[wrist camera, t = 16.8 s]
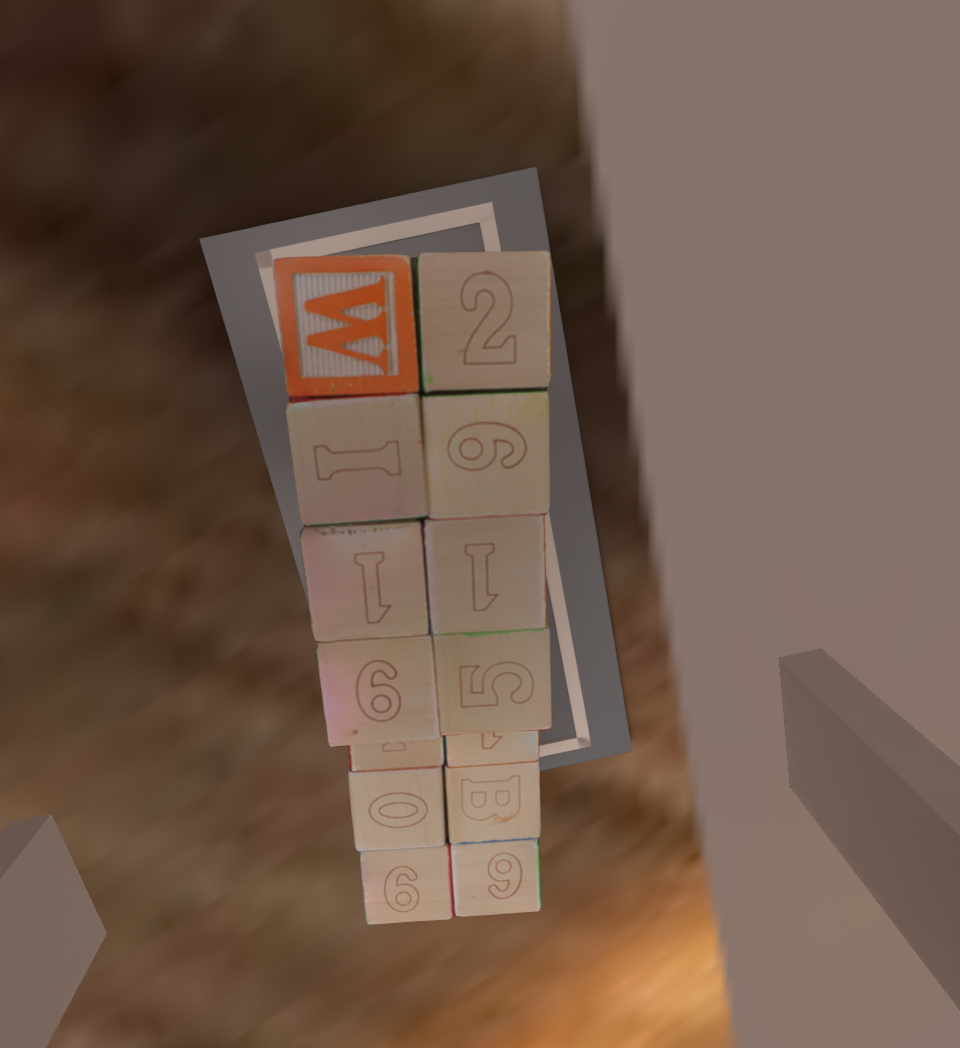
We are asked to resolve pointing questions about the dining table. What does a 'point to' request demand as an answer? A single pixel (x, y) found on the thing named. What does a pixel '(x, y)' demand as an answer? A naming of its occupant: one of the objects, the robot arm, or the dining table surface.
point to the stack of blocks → (428, 559)
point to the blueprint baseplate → (570, 534)
